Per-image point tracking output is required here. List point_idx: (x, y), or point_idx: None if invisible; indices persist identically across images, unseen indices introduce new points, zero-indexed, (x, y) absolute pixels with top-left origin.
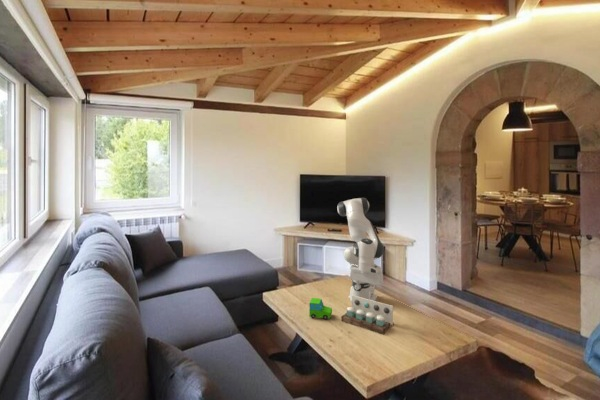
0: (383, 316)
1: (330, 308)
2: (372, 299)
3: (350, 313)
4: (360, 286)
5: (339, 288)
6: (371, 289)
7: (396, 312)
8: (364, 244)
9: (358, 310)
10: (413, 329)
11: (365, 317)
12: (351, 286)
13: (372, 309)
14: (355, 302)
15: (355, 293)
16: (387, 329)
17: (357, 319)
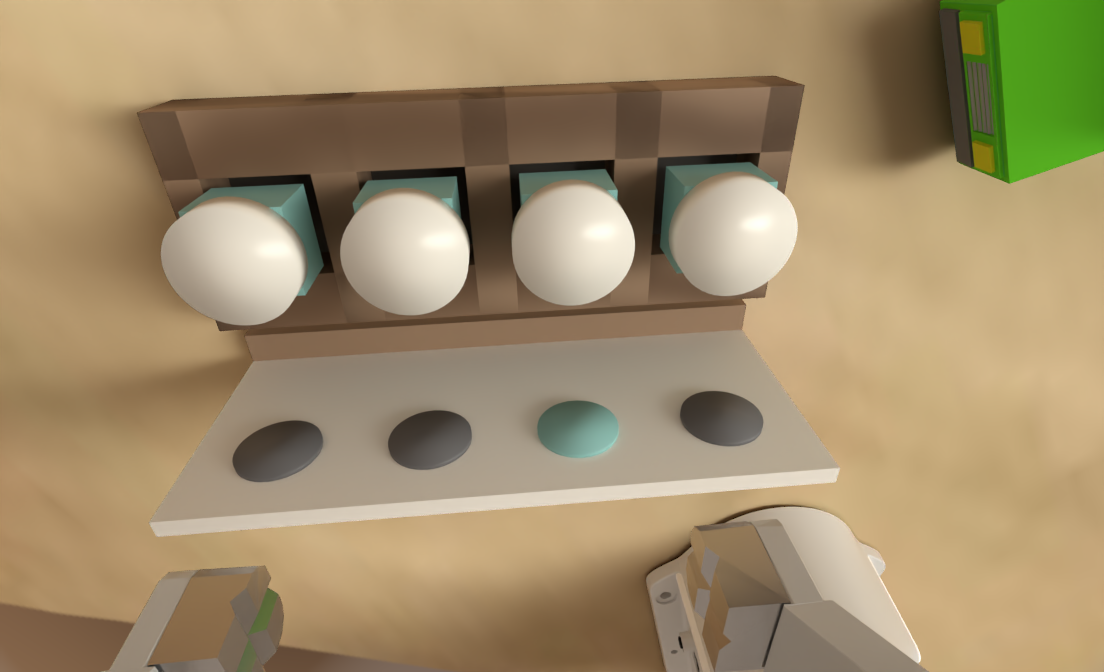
0: (217, 306)
1: (1024, 149)
2: (673, 619)
3: (705, 177)
4: (705, 611)
5: (993, 622)
6: (205, 627)
7: (405, 568)
8: None
9: (609, 249)
10: (69, 412)
11: None
12: (918, 663)
13: (489, 409)
14: (742, 409)
15: (833, 595)
16: None
17: (574, 151)
